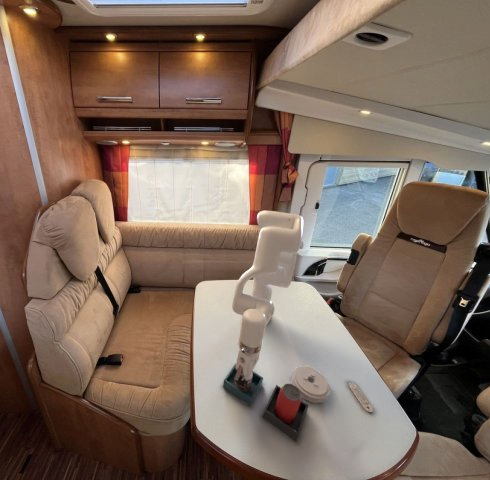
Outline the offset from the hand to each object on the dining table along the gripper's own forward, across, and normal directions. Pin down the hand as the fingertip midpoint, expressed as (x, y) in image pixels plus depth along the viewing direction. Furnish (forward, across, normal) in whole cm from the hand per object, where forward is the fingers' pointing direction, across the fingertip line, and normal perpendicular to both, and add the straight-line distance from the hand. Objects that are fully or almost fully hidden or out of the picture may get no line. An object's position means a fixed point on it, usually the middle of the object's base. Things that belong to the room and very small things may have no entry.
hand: (244, 376), depth 87 cm
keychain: (+5, +24, -36) cm, 43 cm away
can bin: (+5, 0, -16) cm, 17 cm away
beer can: (+5, 0, -16) cm, 17 cm away
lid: (+6, +16, -20) cm, 26 cm away
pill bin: (+5, 0, 0) cm, 5 cm away
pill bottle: (+5, 0, 0) cm, 5 cm away
